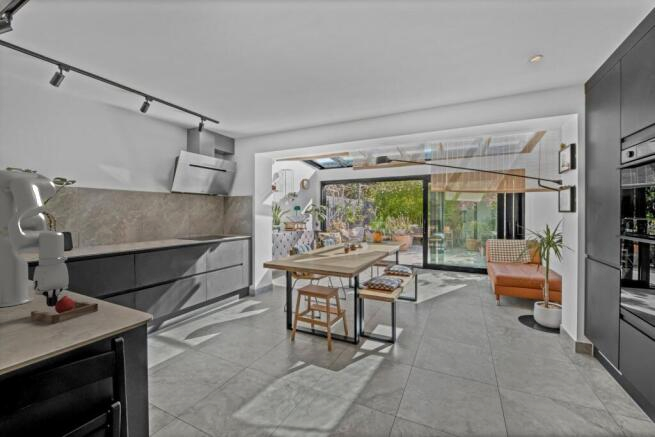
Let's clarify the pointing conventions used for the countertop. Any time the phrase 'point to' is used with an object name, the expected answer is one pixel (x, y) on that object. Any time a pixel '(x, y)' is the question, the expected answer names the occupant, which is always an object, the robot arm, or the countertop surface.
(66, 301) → the onion
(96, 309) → the corral
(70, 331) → the countertop surface
